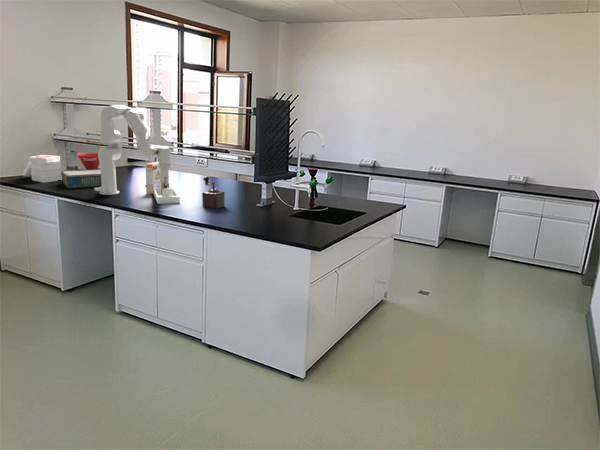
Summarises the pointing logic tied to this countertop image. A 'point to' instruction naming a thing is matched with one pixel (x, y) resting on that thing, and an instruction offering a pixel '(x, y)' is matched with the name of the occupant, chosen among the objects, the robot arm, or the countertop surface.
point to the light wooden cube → (162, 187)
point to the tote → (166, 199)
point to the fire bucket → (89, 160)
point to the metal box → (82, 178)
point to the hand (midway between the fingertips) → (165, 192)
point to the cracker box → (152, 177)
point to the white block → (167, 192)
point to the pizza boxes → (44, 168)
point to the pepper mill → (213, 197)
